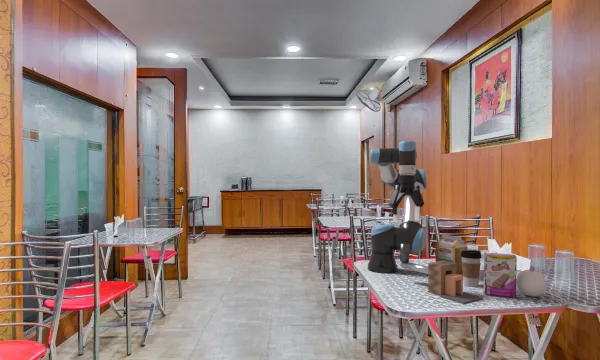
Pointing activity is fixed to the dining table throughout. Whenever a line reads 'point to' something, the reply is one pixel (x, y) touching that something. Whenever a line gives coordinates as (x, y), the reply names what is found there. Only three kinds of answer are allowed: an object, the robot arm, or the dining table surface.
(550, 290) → the dining table surface
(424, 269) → the shaft
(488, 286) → the candy bar box
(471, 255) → the coffee cup
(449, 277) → the spacer
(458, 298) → the mat
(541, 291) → the ornament
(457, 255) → the milk carton
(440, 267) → the brown notched block
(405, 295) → the dining table surface
